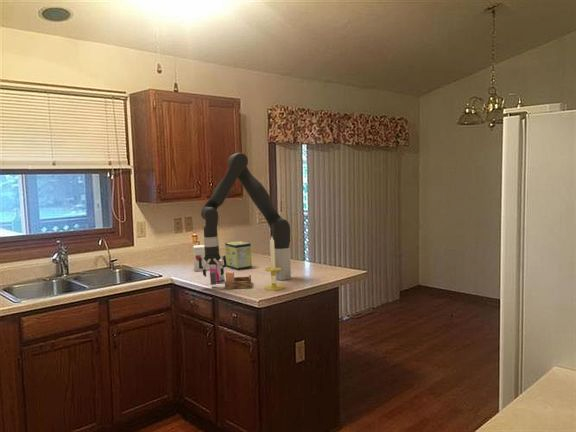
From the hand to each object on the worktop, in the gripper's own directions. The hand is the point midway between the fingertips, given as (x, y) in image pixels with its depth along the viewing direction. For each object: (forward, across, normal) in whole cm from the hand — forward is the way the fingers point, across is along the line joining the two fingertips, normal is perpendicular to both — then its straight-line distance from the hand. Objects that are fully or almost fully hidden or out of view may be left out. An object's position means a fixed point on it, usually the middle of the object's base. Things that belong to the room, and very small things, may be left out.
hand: (213, 275), depth 260 cm
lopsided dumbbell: (+5, -4, 0) cm, 6 cm away
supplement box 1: (+6, +13, -50) cm, 52 cm away
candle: (+7, -31, +8) cm, 33 cm away
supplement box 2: (+6, 0, -15) cm, 16 cm away
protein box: (+7, -10, -51) cm, 52 cm away
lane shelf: (+6, -13, 0) cm, 14 cm away
